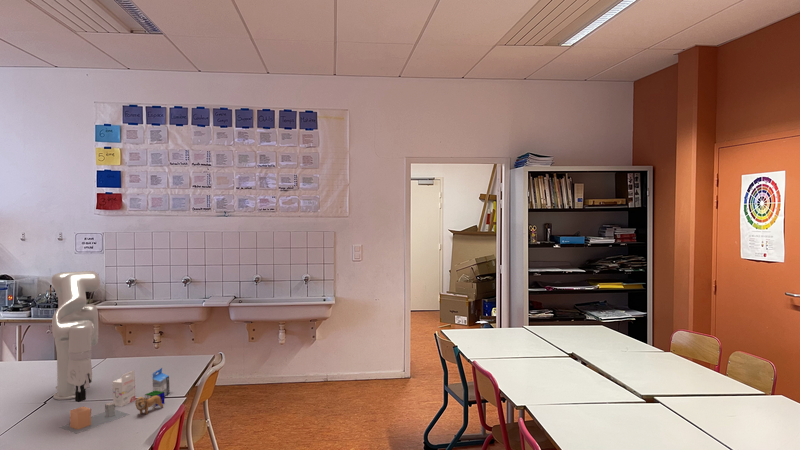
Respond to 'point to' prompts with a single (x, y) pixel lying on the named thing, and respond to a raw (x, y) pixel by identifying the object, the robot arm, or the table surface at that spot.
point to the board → (96, 421)
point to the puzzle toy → (155, 393)
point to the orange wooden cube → (80, 417)
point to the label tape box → (161, 382)
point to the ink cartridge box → (124, 389)
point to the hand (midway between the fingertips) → (80, 400)
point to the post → (109, 409)
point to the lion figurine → (147, 403)
